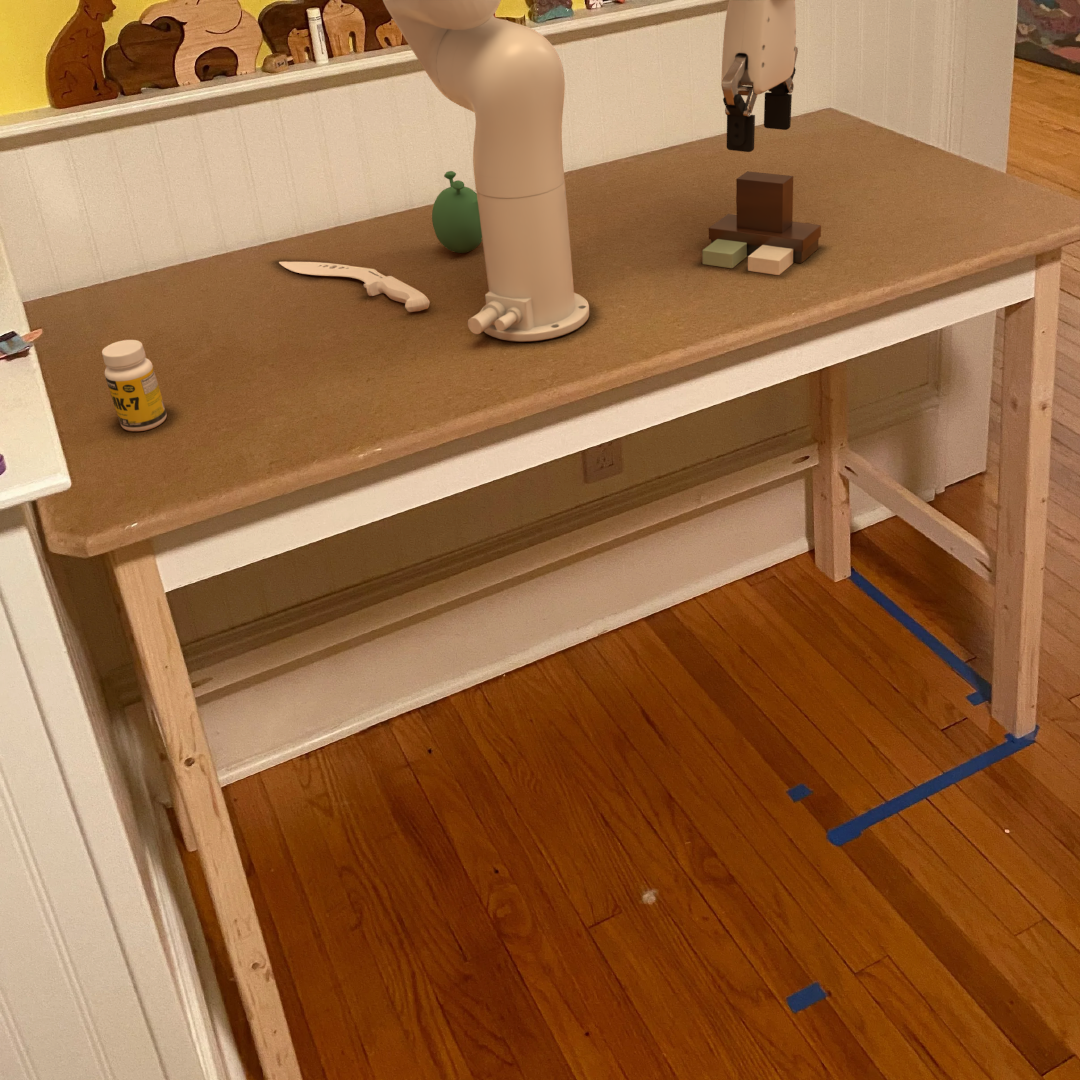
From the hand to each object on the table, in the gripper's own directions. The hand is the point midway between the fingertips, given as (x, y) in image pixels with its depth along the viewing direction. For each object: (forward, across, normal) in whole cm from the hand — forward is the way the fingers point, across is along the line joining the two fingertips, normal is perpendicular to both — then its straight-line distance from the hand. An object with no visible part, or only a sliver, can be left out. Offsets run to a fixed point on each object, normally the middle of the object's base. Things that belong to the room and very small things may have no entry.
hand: (759, 139), depth 142 cm
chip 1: (+14, +4, -2) cm, 14 cm away
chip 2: (+14, +4, +4) cm, 15 cm away
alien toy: (+15, +12, -36) cm, 40 cm away
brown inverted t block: (+14, -1, +1) cm, 14 cm away
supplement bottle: (+16, +64, -38) cm, 76 cm away
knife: (+15, +27, -42) cm, 53 cm away
